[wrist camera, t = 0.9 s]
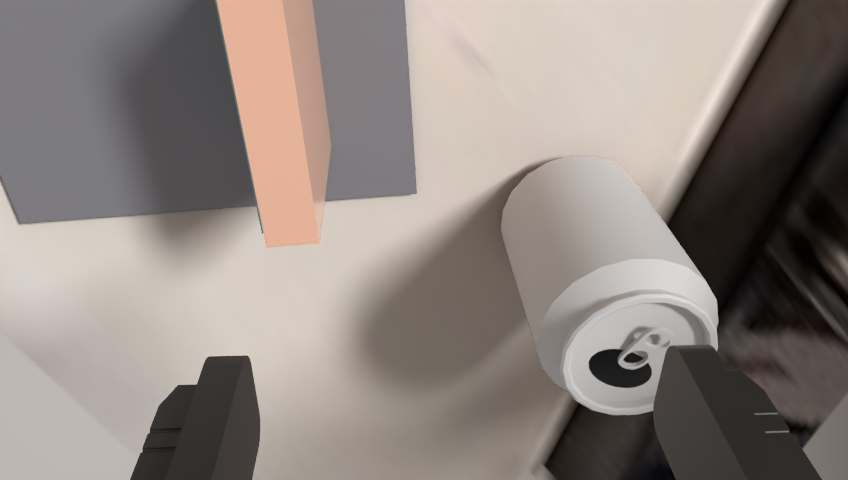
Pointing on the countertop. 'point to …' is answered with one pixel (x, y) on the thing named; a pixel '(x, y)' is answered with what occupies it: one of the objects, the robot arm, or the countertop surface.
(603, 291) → the can
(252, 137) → the tile
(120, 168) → the mat
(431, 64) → the countertop surface
